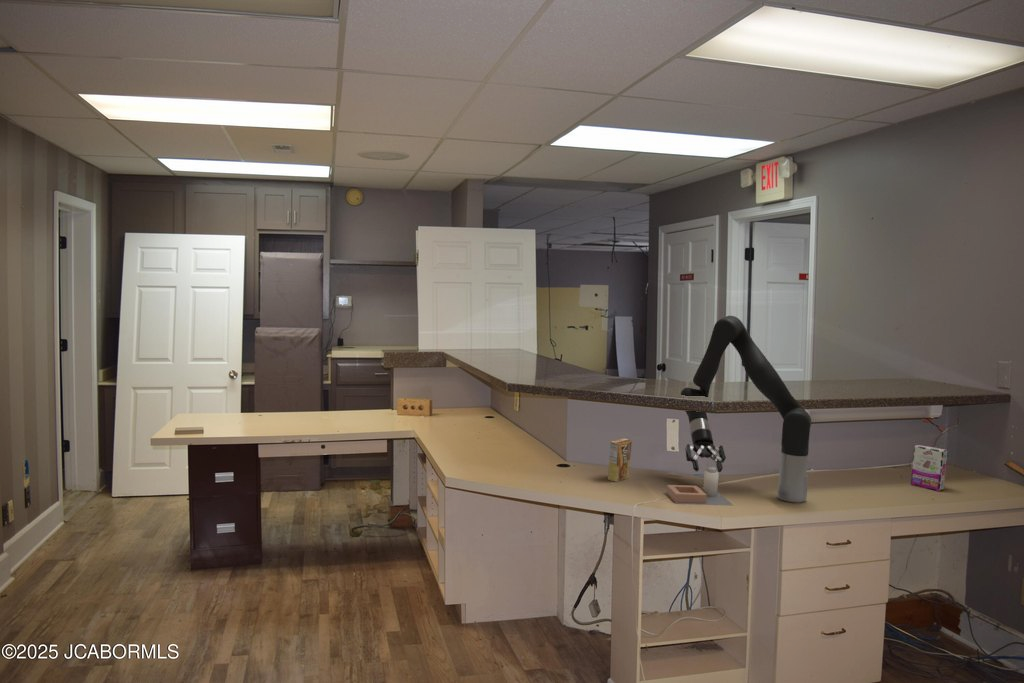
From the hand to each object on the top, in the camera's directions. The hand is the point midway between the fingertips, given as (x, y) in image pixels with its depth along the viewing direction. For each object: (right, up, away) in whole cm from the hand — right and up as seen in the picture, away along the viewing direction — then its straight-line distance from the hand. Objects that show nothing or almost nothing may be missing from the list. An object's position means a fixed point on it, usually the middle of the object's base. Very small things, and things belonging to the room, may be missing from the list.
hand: (708, 470), depth 273 cm
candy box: (-31, -6, +16) cm, 35 cm away
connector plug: (0, -8, -2) cm, 9 cm away
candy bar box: (+96, -12, +28) cm, 100 cm away
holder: (-6, -10, -6) cm, 13 cm away
